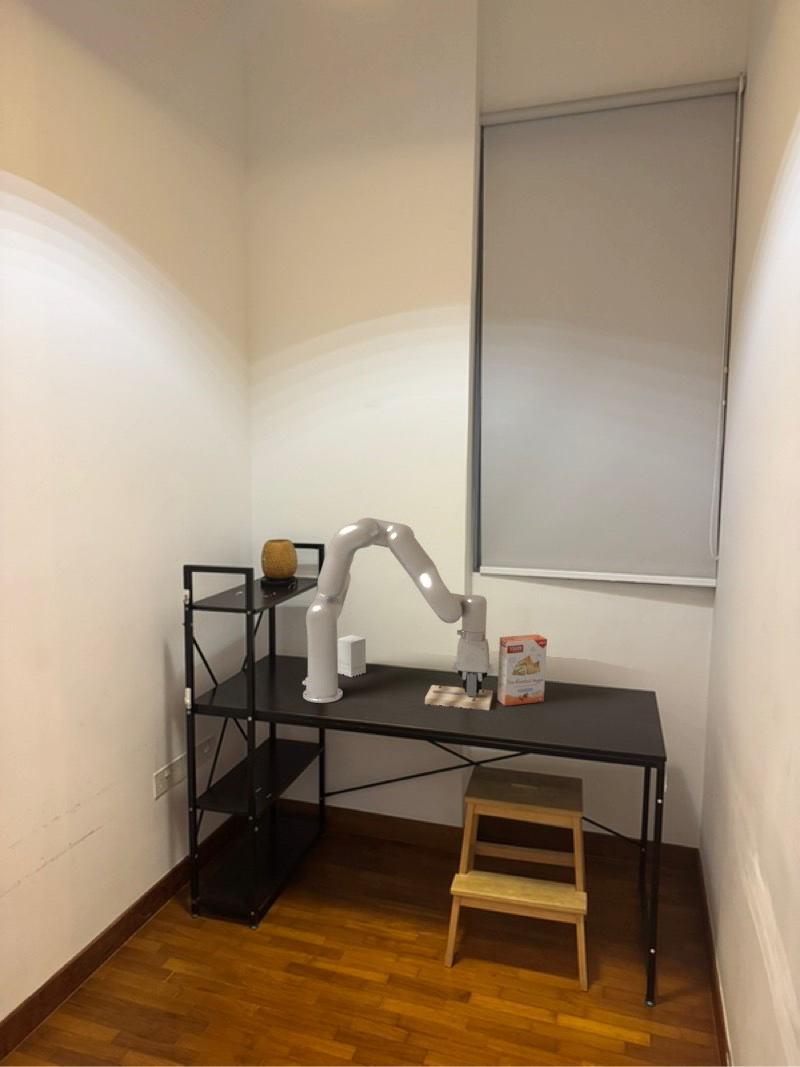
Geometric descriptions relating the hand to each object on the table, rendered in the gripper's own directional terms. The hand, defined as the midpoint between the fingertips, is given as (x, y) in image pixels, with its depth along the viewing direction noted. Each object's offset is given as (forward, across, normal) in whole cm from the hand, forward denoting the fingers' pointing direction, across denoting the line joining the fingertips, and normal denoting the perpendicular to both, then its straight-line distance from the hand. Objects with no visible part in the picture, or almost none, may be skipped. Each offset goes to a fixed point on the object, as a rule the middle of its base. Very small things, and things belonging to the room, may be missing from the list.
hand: (472, 691), depth 218 cm
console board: (+3, -4, 0) cm, 5 cm away
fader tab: (+1, 0, 0) cm, 1 cm away
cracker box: (+4, +15, +4) cm, 16 cm away
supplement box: (+4, -45, +17) cm, 48 cm away
